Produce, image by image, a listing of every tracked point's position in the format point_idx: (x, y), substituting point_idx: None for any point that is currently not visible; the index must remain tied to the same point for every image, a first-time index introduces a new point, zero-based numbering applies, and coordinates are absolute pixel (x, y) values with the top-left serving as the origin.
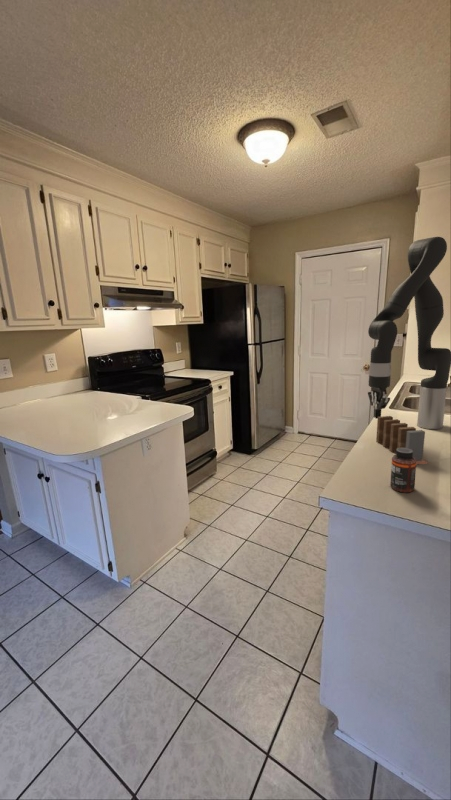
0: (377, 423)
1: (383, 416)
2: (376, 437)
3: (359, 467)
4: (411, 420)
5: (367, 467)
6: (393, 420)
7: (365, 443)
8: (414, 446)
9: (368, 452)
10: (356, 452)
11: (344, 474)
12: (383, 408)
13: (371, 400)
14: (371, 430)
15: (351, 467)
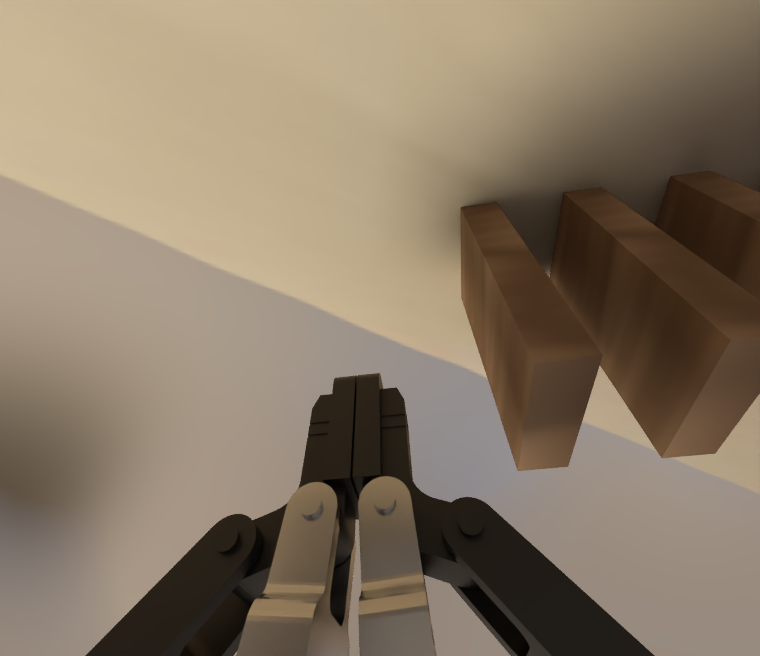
0: (500, 408)
1: (526, 430)
2: (468, 318)
3: (733, 439)
4: None
5: (754, 419)
6: (738, 395)
7: (476, 358)
8: None
9: (608, 378)
10: (584, 418)
11: (748, 479)
12: (481, 512)
13: (234, 651)
14: (190, 250)
15: (714, 457)
